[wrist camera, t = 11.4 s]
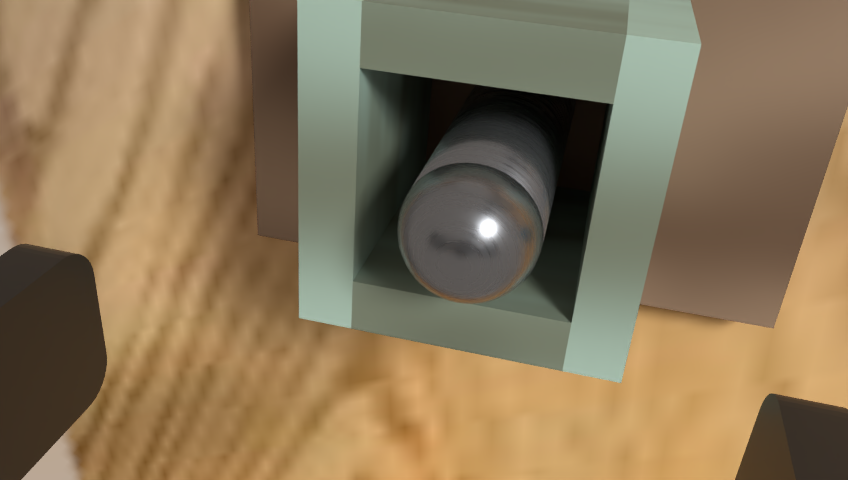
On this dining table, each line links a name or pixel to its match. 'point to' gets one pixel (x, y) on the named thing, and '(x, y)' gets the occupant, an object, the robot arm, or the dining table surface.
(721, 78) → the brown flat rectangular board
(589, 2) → the pale green open box
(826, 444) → the robot arm
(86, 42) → the dining table surface
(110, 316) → the dining table surface
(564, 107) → the metal post
